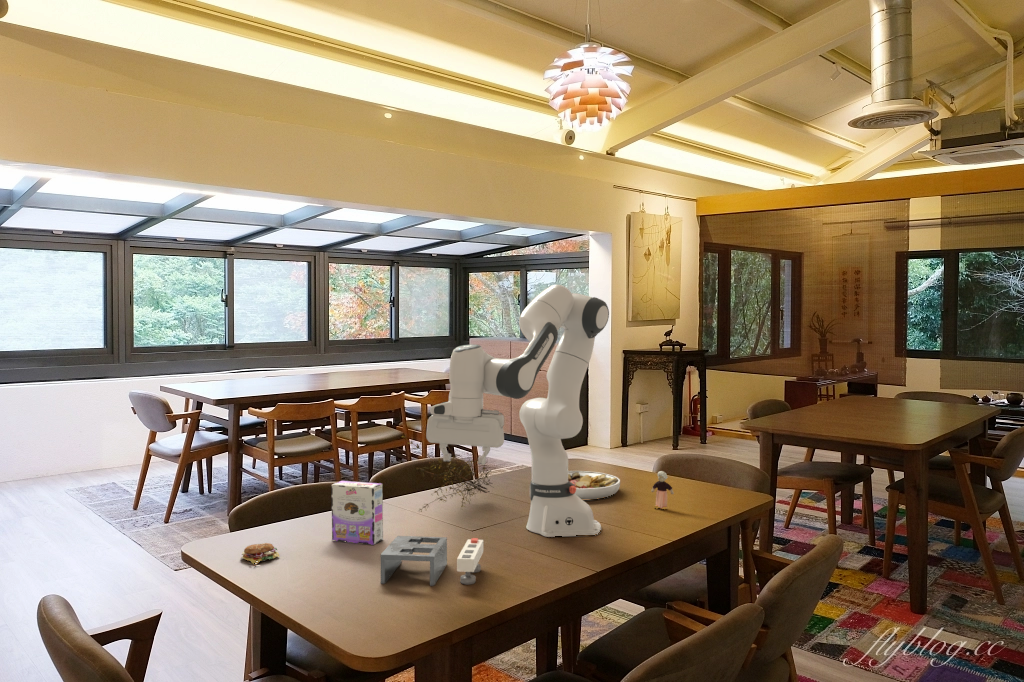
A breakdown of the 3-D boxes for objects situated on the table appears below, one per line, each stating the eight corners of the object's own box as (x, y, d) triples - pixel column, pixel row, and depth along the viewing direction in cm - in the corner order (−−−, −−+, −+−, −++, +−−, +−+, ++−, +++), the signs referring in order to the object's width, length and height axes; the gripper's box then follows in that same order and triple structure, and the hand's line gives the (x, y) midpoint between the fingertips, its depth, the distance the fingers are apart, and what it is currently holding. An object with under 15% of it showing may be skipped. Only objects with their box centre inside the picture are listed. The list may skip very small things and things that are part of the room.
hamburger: (220, 563, 185) (219, 541, 184) (268, 550, 195) (268, 528, 195) (248, 575, 176) (248, 551, 176) (297, 560, 186) (297, 538, 186)
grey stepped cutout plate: (446, 564, 182) (446, 537, 182) (434, 585, 167) (434, 556, 167) (397, 562, 184) (397, 535, 184) (380, 583, 169) (380, 554, 169)
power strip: (483, 565, 181) (483, 537, 181) (473, 587, 166) (473, 556, 166) (468, 565, 182) (467, 537, 182) (457, 586, 167) (456, 556, 167)
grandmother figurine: (649, 509, 236) (649, 471, 236) (651, 506, 239) (651, 469, 239) (672, 511, 233) (673, 473, 233) (674, 508, 237) (675, 470, 236)
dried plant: (470, 444, 259) (392, 404, 225) (541, 461, 241) (467, 421, 207) (443, 526, 251) (357, 498, 217) (513, 550, 233) (432, 523, 199)
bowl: (565, 480, 281) (565, 460, 281) (634, 490, 264) (634, 469, 263) (522, 495, 257) (522, 473, 257) (594, 507, 239) (594, 484, 239)
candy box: (384, 539, 203) (383, 482, 203) (373, 546, 198) (373, 487, 197) (342, 535, 208) (341, 479, 207) (330, 541, 202) (330, 483, 202)
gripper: (508, 409, 180) (506, 463, 180) (434, 405, 186) (433, 457, 186) (500, 412, 174) (499, 468, 174) (424, 407, 180) (423, 461, 180)
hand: (464, 462), depth 180 cm, fingers open, 8 cm apart
